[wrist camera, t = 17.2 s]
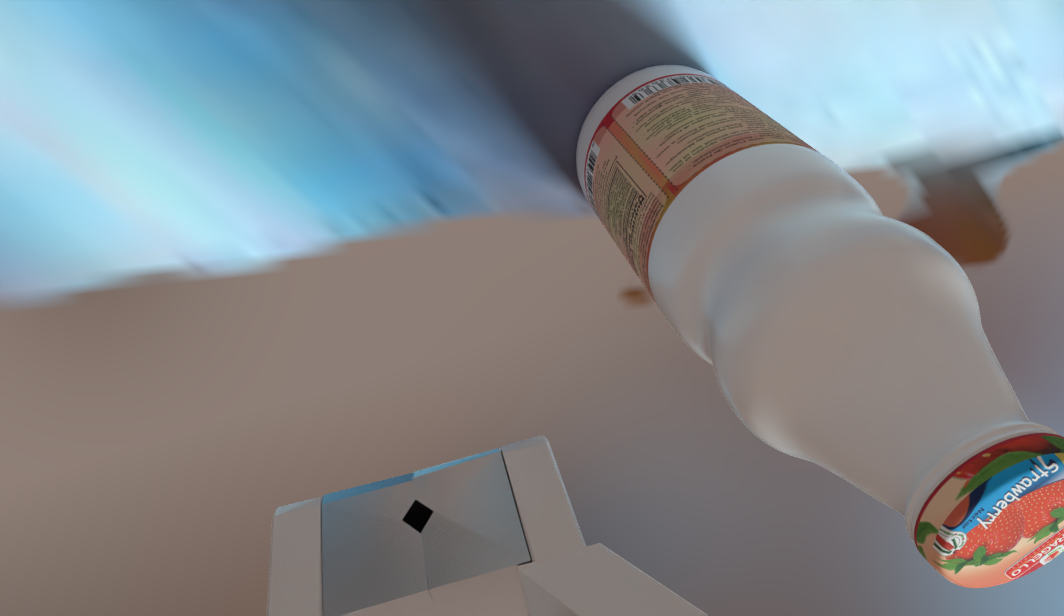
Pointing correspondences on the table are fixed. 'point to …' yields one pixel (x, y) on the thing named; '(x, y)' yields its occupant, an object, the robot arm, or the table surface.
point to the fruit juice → (824, 319)
